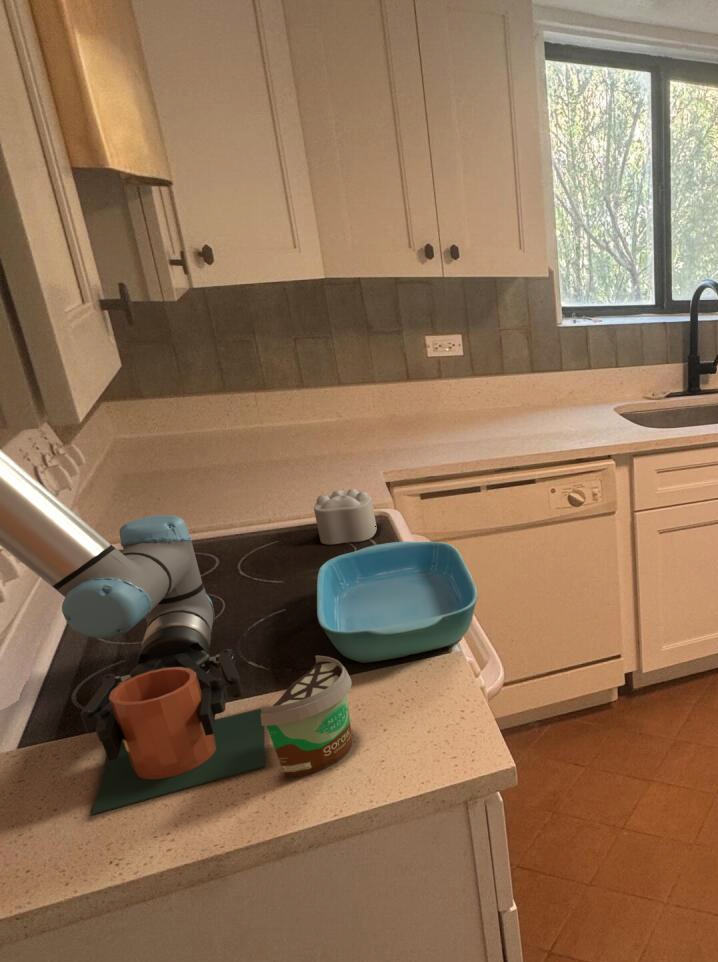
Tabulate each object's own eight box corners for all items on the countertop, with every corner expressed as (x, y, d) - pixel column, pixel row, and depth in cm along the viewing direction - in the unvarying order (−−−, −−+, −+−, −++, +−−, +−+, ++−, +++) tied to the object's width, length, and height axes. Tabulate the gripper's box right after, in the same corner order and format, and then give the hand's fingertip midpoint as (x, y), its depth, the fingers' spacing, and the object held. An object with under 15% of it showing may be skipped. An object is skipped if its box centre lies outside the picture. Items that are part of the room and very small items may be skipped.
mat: (111, 747, 95) (110, 745, 95) (263, 709, 103) (263, 707, 102) (92, 815, 84) (91, 813, 84) (265, 766, 91) (264, 765, 91)
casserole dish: (494, 652, 116) (489, 609, 114) (327, 690, 107) (316, 643, 104) (456, 567, 147) (451, 531, 144) (323, 590, 137) (315, 553, 135)
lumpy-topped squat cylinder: (316, 545, 157) (308, 505, 154) (327, 525, 169) (319, 486, 166) (373, 540, 160) (365, 499, 157) (380, 519, 172) (373, 482, 169)
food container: (331, 786, 88) (313, 710, 84) (277, 785, 88) (257, 709, 85) (381, 722, 100) (367, 653, 96) (333, 722, 100) (317, 653, 96)
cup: (138, 750, 94) (114, 678, 90) (217, 730, 98) (197, 660, 94) (130, 788, 87) (104, 712, 84) (215, 765, 91) (193, 691, 88)
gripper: (271, 654, 111) (275, 736, 93) (85, 696, 101) (48, 796, 83) (259, 607, 109) (260, 681, 90) (67, 645, 99) (25, 737, 80)
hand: (159, 736), depth 87 cm, fingers open, 8 cm apart
